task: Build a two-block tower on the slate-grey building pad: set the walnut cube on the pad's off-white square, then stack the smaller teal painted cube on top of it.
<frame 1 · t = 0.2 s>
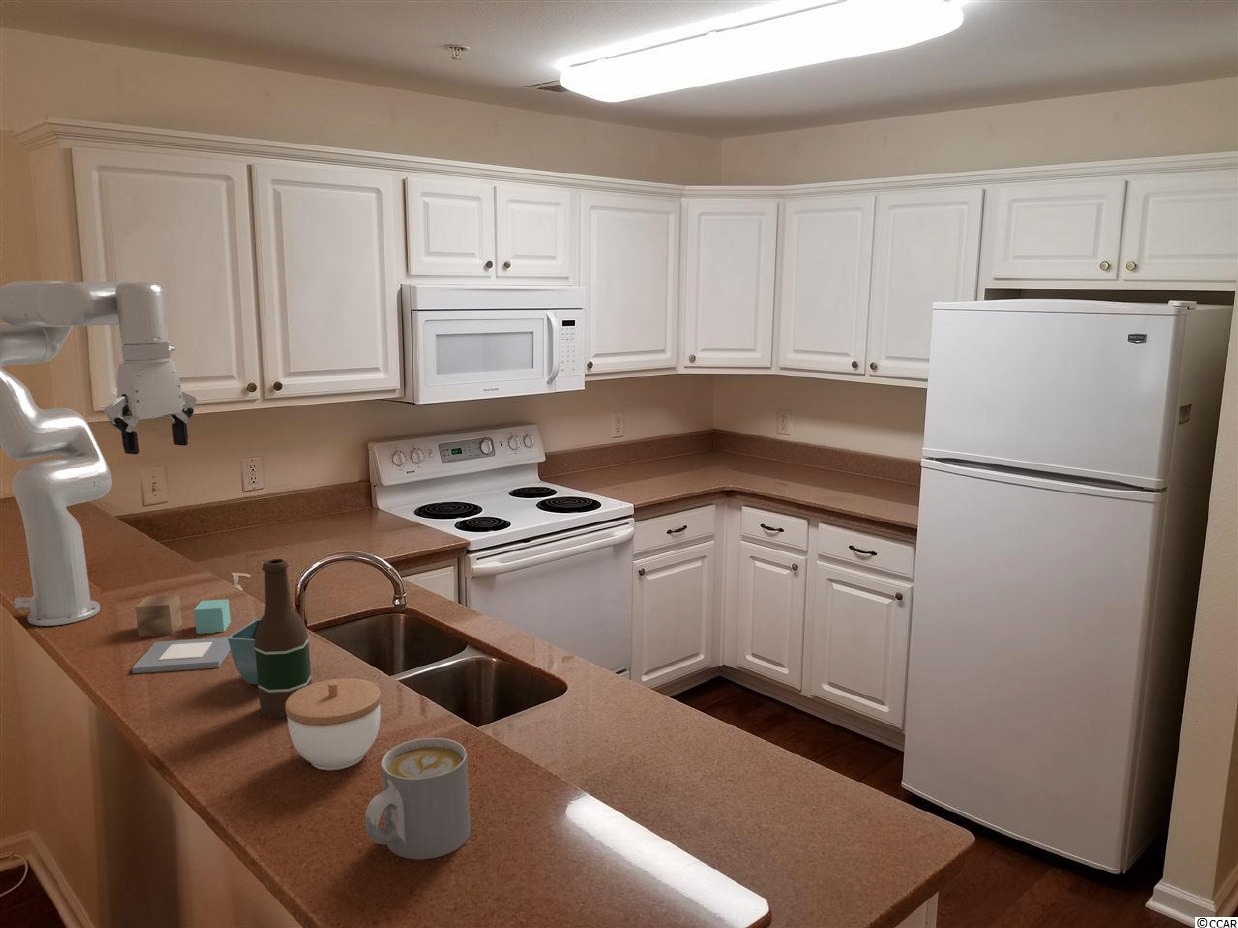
hand: (157, 449, 167), 36 cm above the table, tool pointing down, fingers open, 9 cm apart
flower pot: (270, 681, 156), on the table
beer bottle: (287, 710, 145), on the table
building pad: (186, 656, 166), on the table
lidded bowl: (338, 758, 130), on the table
teal block: (214, 628, 180), on the table
walnut block: (161, 630, 179), on the table
coffee mug: (416, 841, 110), on the table
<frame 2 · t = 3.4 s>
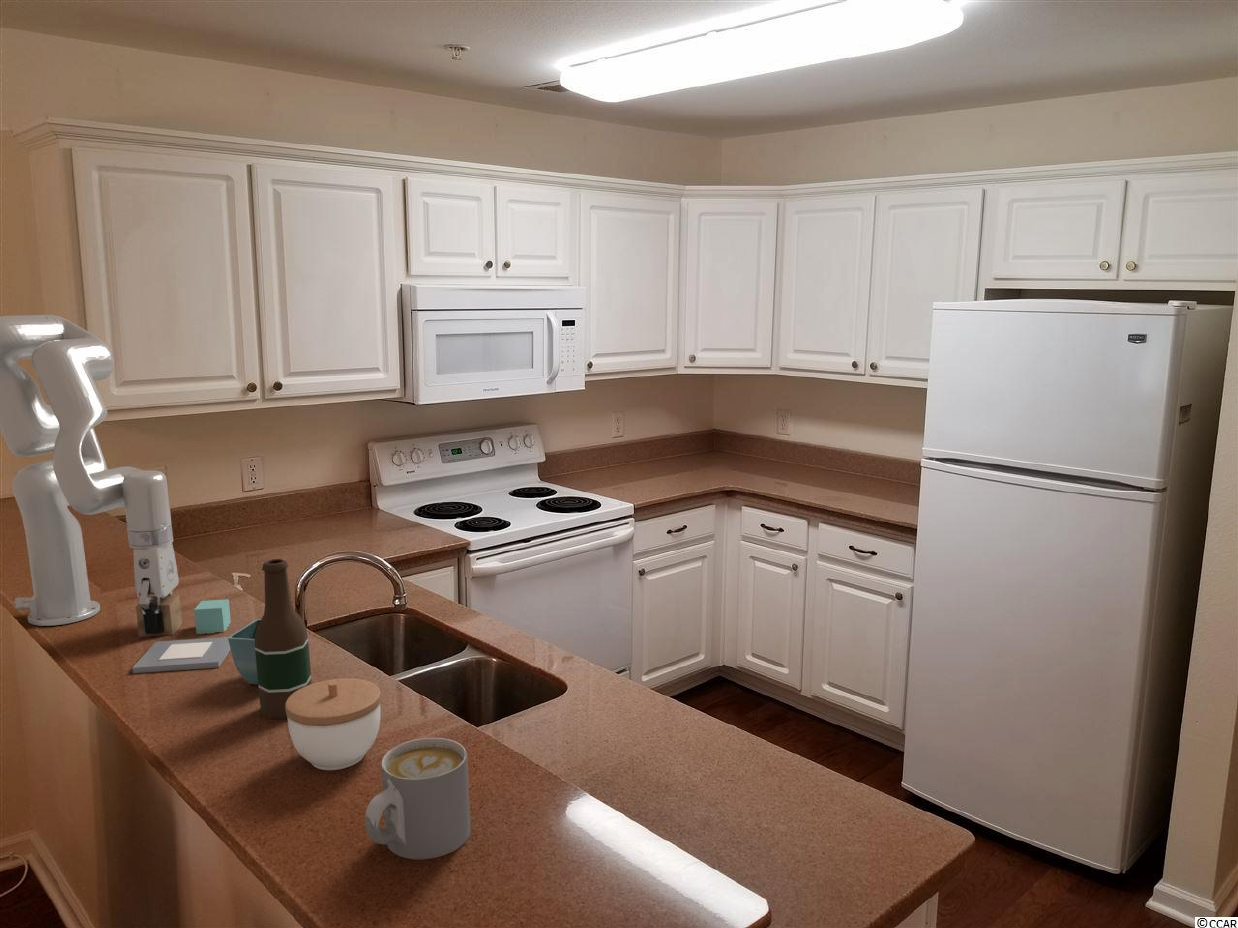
hand: (160, 625, 179), 1 cm above the table, tool pointing down, fingers closed on walnut block, 6 cm apart
walnut block: (161, 630, 179), on the table, touching gripper
everything else where it was.
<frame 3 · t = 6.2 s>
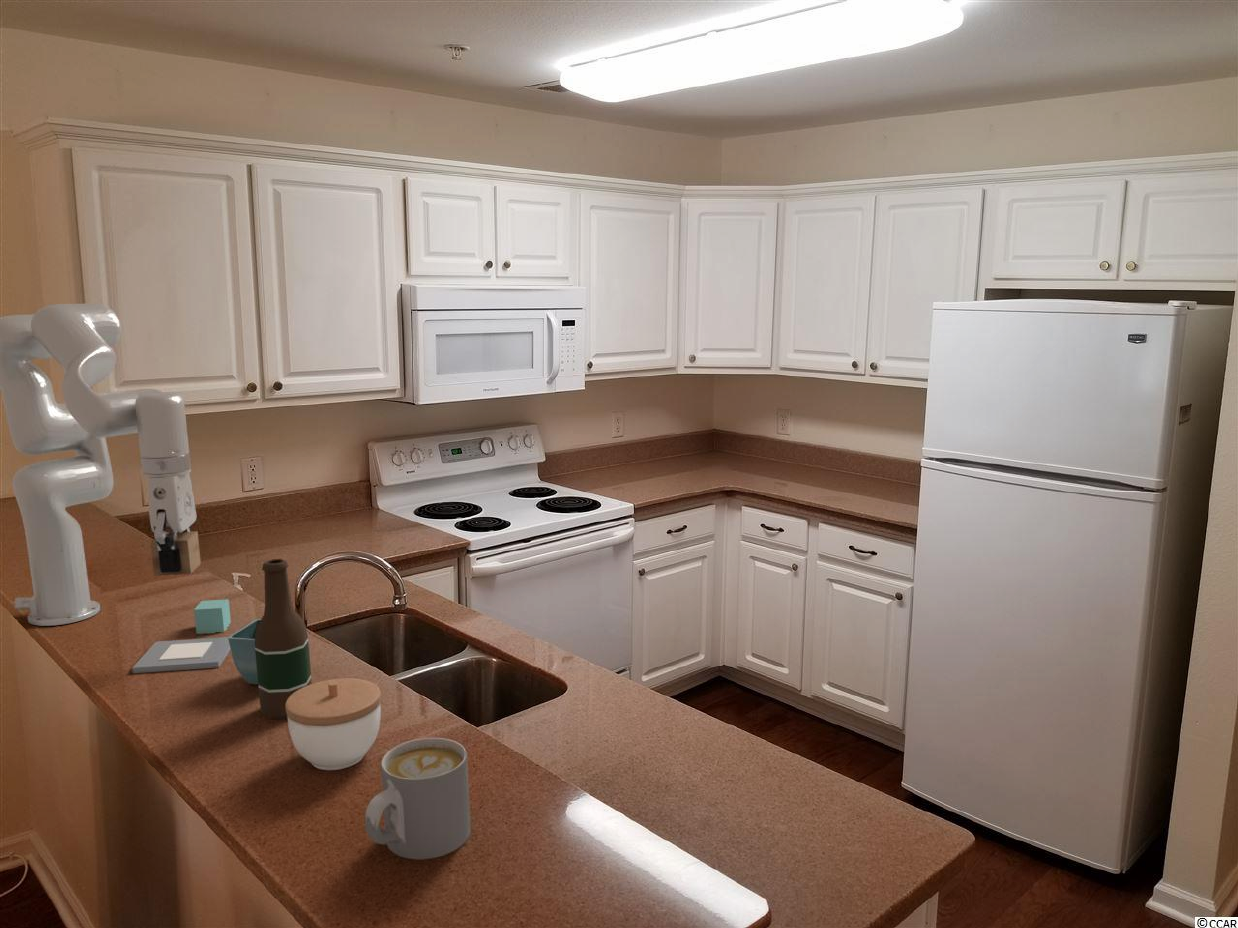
hand: (177, 565, 163), 17 cm above the table, tool pointing down, fingers closed on walnut block, 6 cm apart
walnut block: (177, 569, 163), point 16 cm above the table, touching gripper
everything else where it was.
when the fingers open (3 cm above the table, at t = 9.1 s): walnut block drops 1 cm, resting on building pad.
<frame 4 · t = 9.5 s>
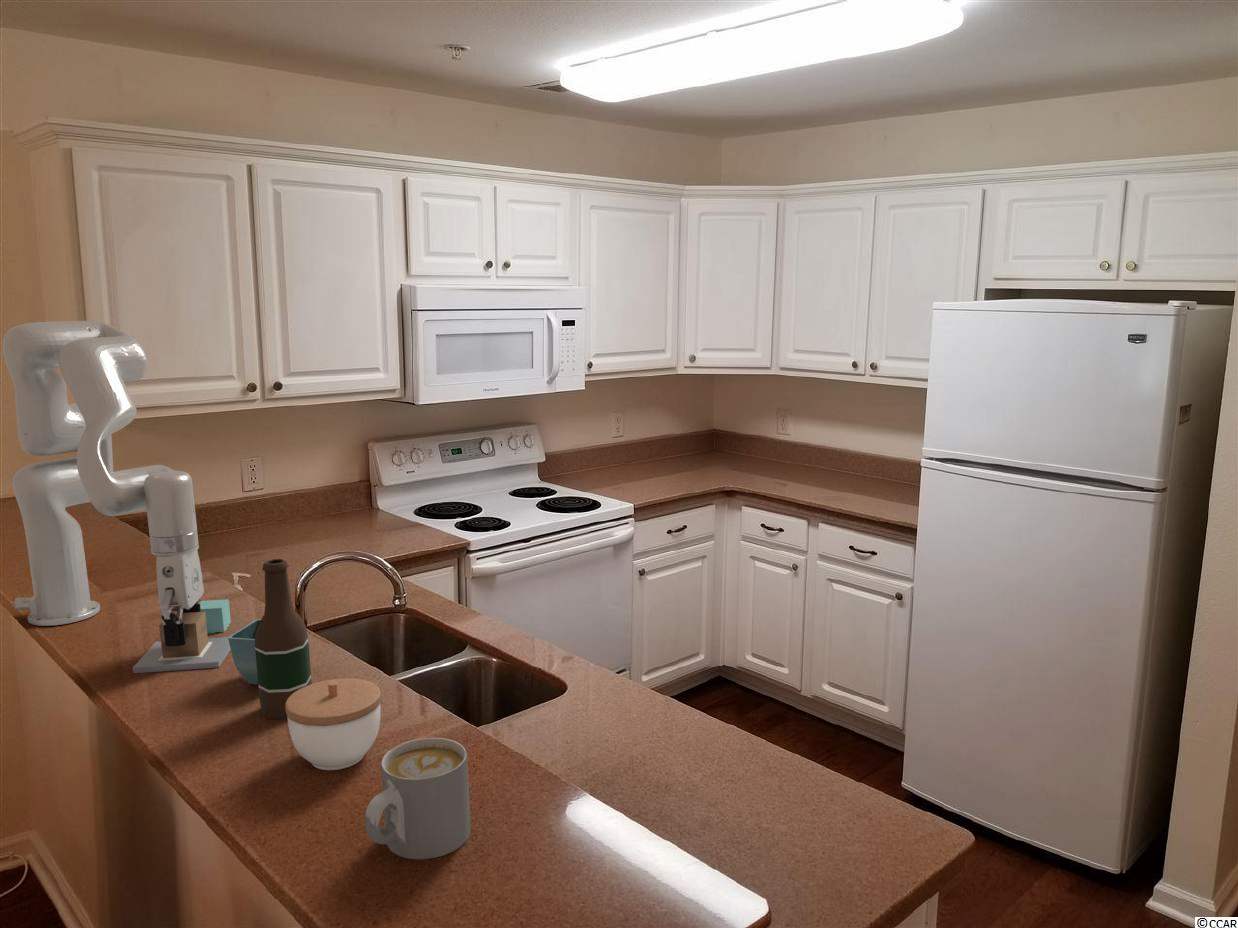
hand: (184, 634, 165), 4 cm above the table, tool pointing down, fingers open, 9 cm apart
walnut block: (186, 650, 166), point 1 cm above the table, touching building pad
everything else where it was.
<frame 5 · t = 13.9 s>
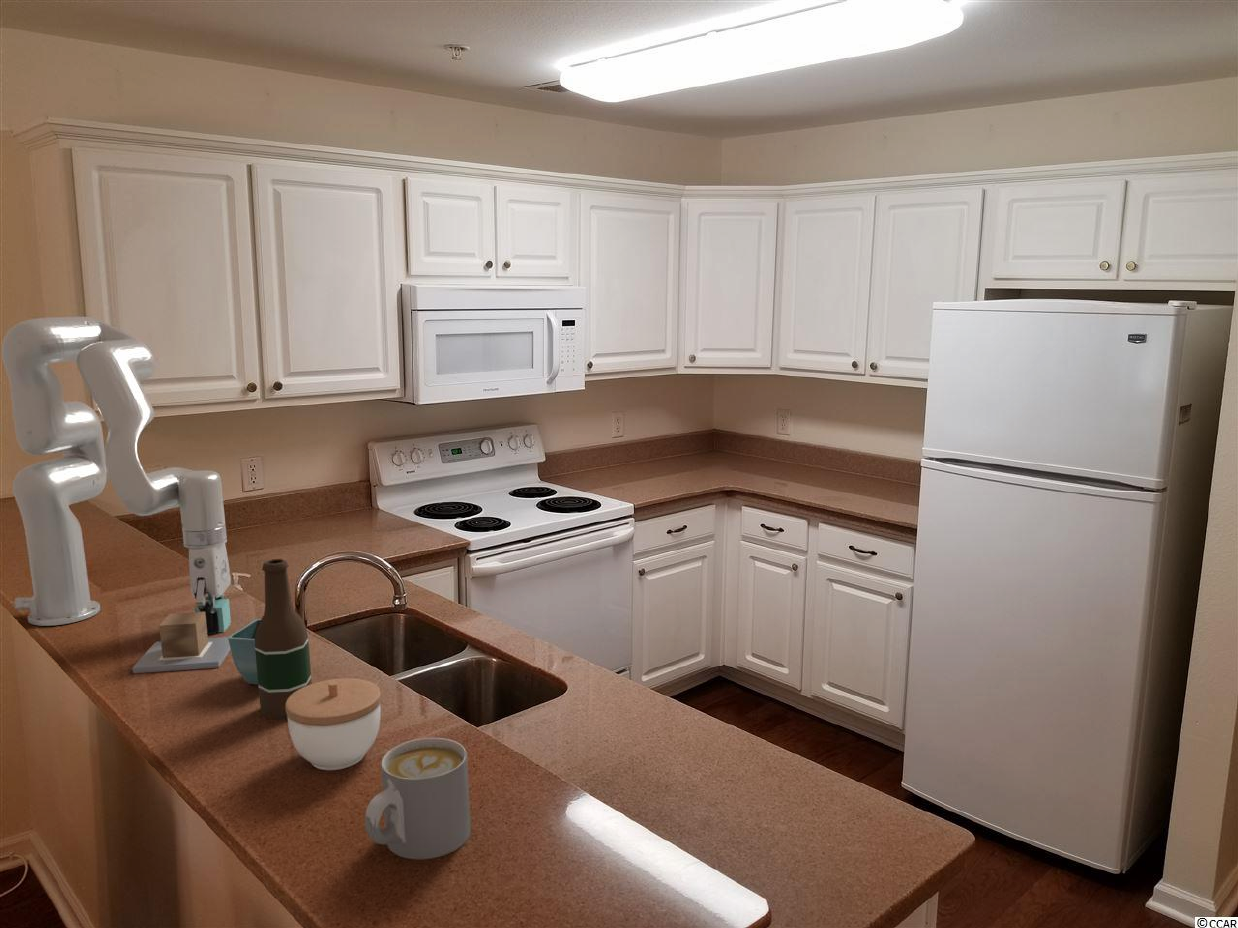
hand: (214, 625, 180), 0 cm above the table, tool pointing down, fingers closed on teal block, 5 cm apart
teal block: (214, 628, 180), on the table, touching gripper
everything else where it was.
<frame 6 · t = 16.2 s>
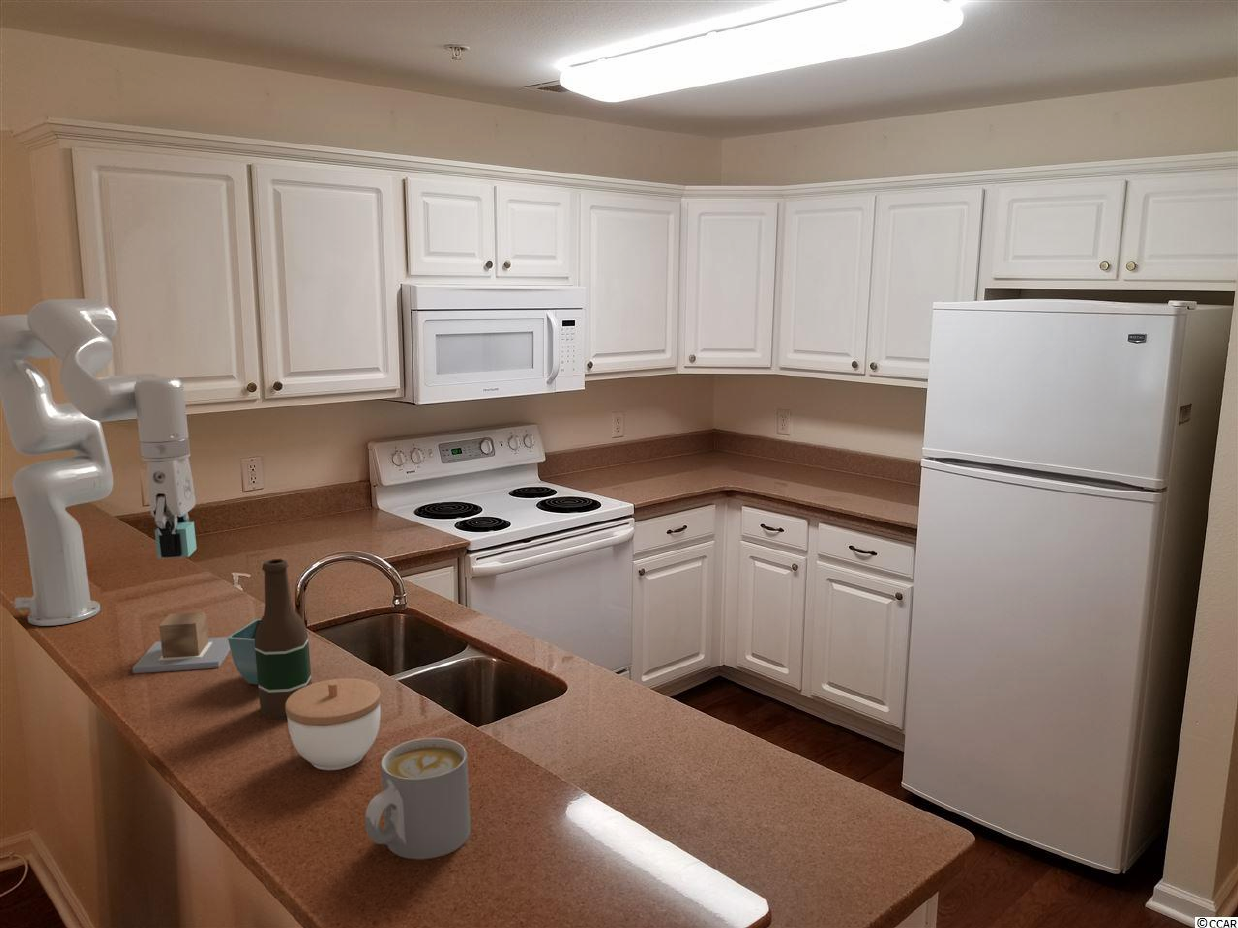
hand: (176, 550, 163), 20 cm above the table, tool pointing down, fingers closed on teal block, 5 cm apart
teal block: (177, 553, 163), point 19 cm above the table, touching gripper
everything else where it was.
when the fingers open (9 cm above the table, at t = 18.6 s): teal block drops 1 cm, resting on walnut block.
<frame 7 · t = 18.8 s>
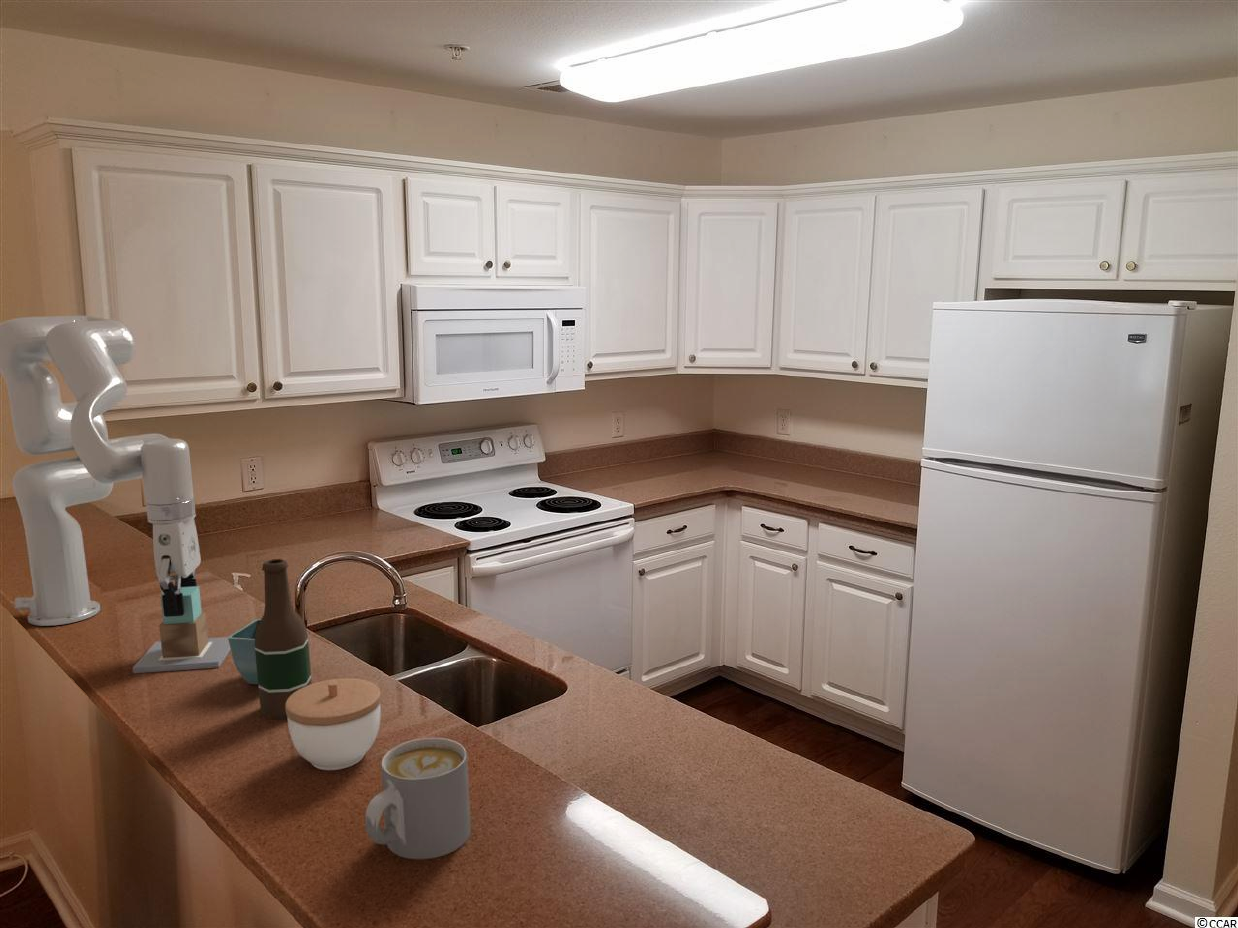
hand: (181, 607, 164), 9 cm above the table, tool pointing down, fingers open, 7 cm apart
teal block: (182, 618, 165), point 7 cm above the table, touching walnut block
walnut block: (186, 650, 166), point 1 cm above the table, touching building pad, teal block
everything else where it was.
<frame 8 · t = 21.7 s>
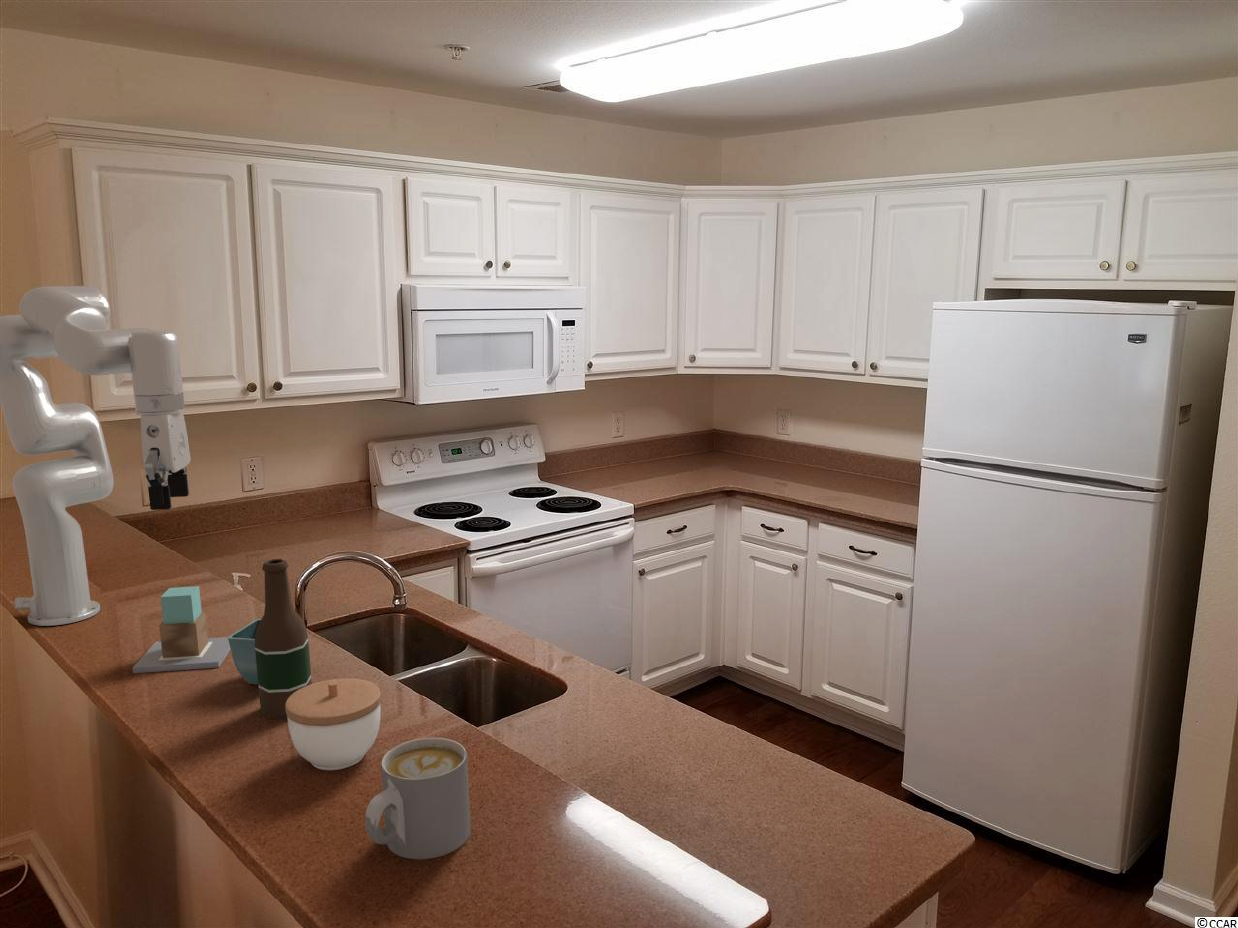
hand: (170, 502, 161), 28 cm above the table, tool pointing down, fingers open, 9 cm apart
nothing on the table moved.
at the end: walnut block inside the target area on the building pad (0.0 cm from its centre), point 1.2 cm above the building pad's base; teal block 0.0 cm off-centre on the walnut block, point 6.0 cm above the walnut block's base; teal block tilted 0° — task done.
